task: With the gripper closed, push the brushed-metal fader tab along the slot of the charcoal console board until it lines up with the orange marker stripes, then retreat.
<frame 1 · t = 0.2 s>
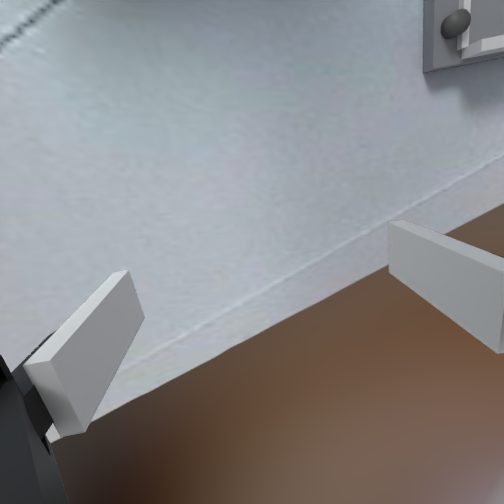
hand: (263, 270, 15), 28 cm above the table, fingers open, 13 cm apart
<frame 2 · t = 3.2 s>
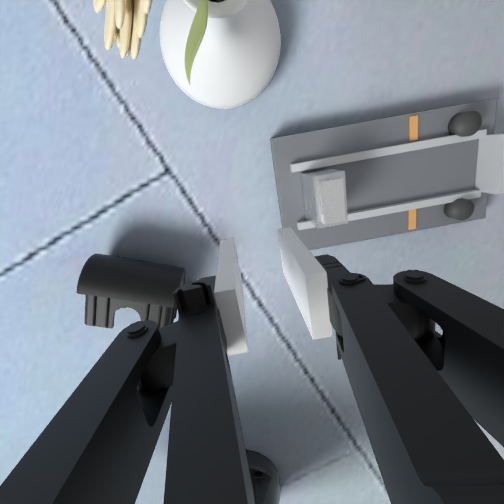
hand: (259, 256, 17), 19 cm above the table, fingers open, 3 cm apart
end cap: (145, 277, 37), on the table
console: (377, 179, 34), on the table
flower in vase: (218, 57, 29), on the table
fader tab: (324, 197, 30), point 5 cm above the table, slide at 0.0 cm
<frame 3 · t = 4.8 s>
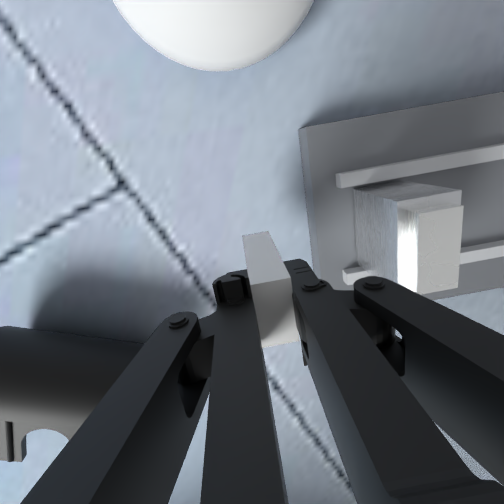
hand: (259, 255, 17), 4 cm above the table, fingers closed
end cap: (94, 351, 23), on the table
console: (473, 197, 21), on the table
fader tab: (403, 235, 16), point 5 cm above the table, slide at 0.0 cm
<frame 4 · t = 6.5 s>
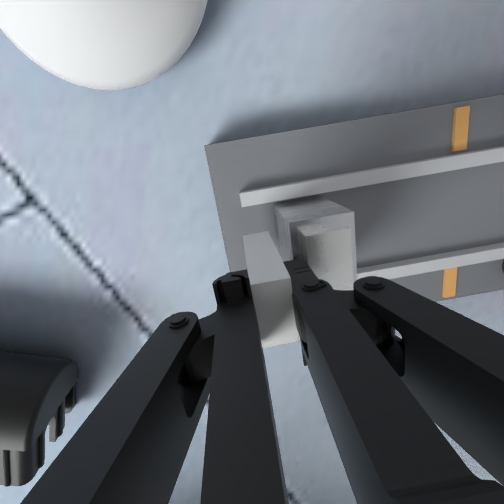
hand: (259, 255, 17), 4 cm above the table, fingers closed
end cap: (18, 364, 23), on the table
console: (392, 213, 21), on the table
fader tab: (313, 253, 16), point 5 cm above the table, slide at 0.9 cm, touching gripper
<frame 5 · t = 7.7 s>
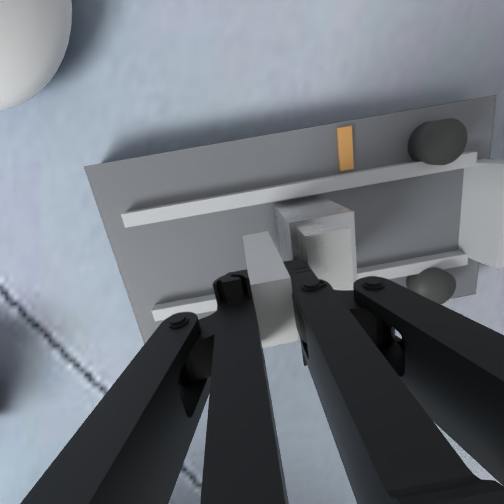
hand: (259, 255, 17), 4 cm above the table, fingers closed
console: (296, 230, 21), on the table
fader tab: (313, 253, 16), point 5 cm above the table, slide at 7.9 cm, touching gripper
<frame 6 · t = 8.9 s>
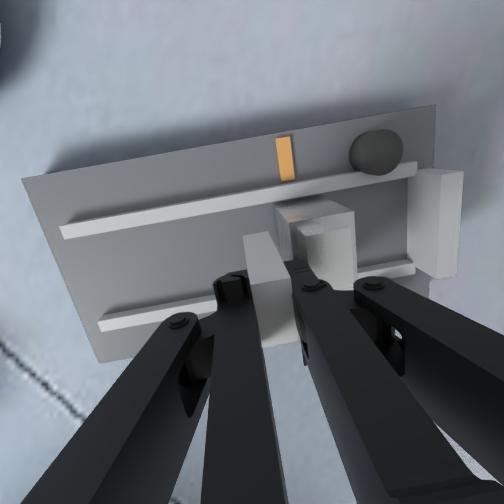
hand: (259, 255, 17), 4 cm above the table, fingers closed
console: (247, 239, 21), on the table
fader tab: (314, 253, 16), point 5 cm above the table, slide at 11.4 cm, touching gripper
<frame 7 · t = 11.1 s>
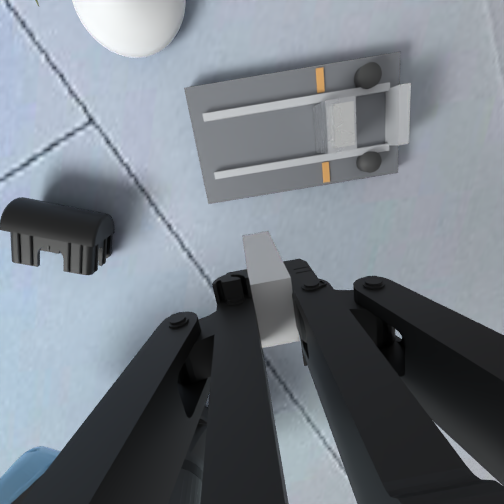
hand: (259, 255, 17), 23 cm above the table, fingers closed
end cap: (78, 226, 39), on the table
console: (294, 133, 36), on the table
flower in vase: (131, 8, 31), on the table
fader tab: (334, 126, 31), point 5 cm above the table, slide at 11.4 cm
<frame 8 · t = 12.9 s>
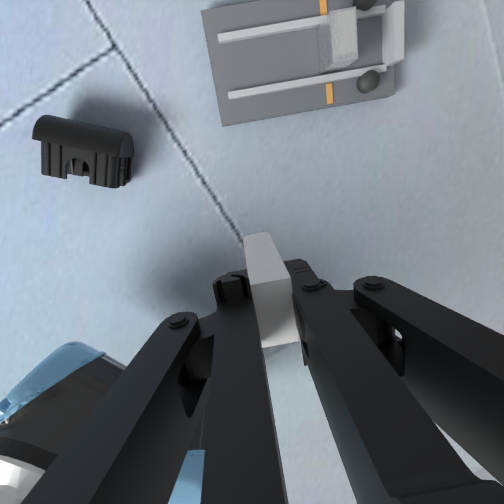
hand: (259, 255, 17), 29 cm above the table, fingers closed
end cap: (99, 152, 42), on the table
console: (299, 59, 39), on the table
fader tab: (337, 42, 35), point 5 cm above the table, slide at 11.4 cm
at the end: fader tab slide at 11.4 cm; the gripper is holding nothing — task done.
